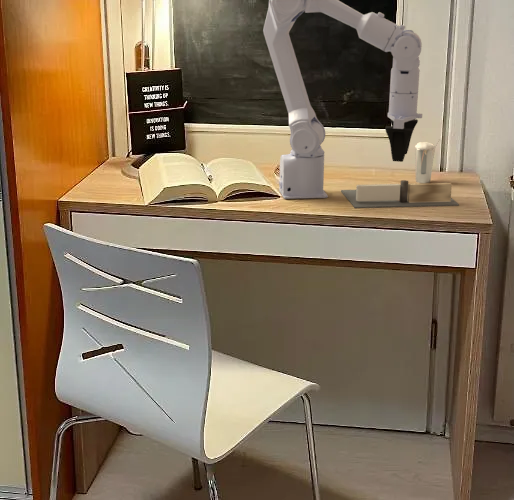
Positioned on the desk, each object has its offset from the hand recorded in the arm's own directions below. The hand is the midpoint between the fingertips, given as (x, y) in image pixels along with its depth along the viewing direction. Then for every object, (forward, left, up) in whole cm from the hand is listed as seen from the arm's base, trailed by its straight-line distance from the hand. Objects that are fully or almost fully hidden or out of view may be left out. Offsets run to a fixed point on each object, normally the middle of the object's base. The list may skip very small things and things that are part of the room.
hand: (399, 157), depth 188 cm
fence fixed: (+5, -3, -9) cm, 11 cm away
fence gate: (-5, -3, -8) cm, 10 cm away
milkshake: (+11, +15, -9) cm, 21 cm away
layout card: (+1, +1, -9) cm, 9 cm away
